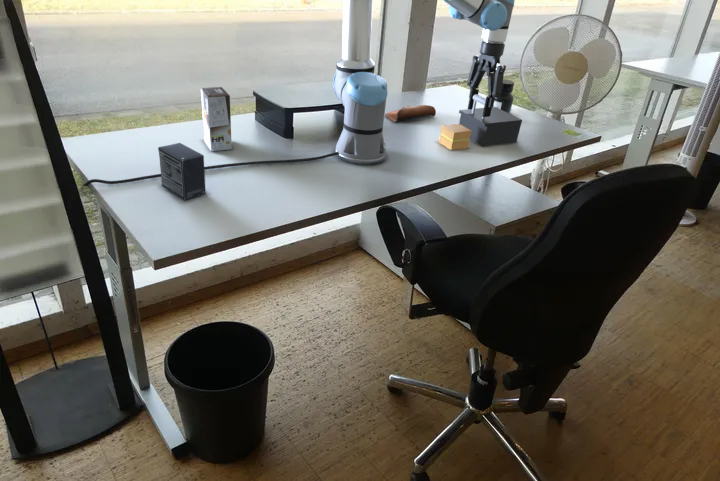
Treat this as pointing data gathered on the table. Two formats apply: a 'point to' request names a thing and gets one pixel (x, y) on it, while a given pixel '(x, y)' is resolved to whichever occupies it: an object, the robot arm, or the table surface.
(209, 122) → the coffee box
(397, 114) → the sunglasses case
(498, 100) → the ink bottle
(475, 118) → the grill lid
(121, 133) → the table surface
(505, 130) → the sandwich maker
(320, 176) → the table surface
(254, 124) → the table surface
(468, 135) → the toast sandwich
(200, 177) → the small box
